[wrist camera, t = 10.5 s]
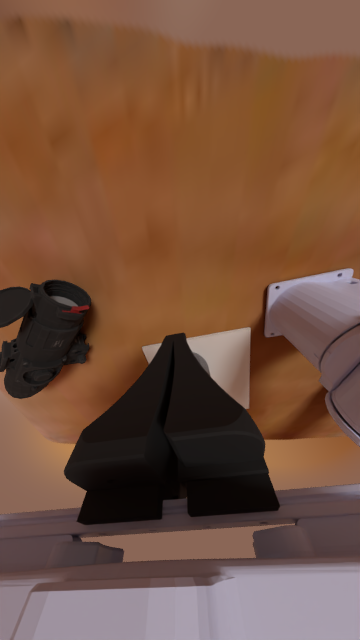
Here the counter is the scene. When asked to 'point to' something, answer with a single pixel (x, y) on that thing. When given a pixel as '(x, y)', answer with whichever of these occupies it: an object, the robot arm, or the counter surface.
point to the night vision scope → (42, 334)
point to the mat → (222, 360)
